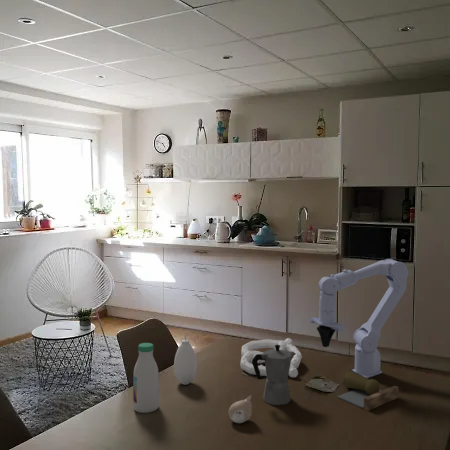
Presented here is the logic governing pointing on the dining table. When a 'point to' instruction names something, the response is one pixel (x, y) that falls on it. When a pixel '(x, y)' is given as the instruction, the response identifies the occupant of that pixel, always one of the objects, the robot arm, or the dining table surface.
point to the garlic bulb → (241, 410)
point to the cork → (361, 382)
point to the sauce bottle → (185, 363)
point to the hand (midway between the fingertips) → (325, 346)
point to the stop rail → (380, 398)
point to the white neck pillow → (249, 354)
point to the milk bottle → (145, 381)
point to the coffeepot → (275, 375)
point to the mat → (355, 397)
